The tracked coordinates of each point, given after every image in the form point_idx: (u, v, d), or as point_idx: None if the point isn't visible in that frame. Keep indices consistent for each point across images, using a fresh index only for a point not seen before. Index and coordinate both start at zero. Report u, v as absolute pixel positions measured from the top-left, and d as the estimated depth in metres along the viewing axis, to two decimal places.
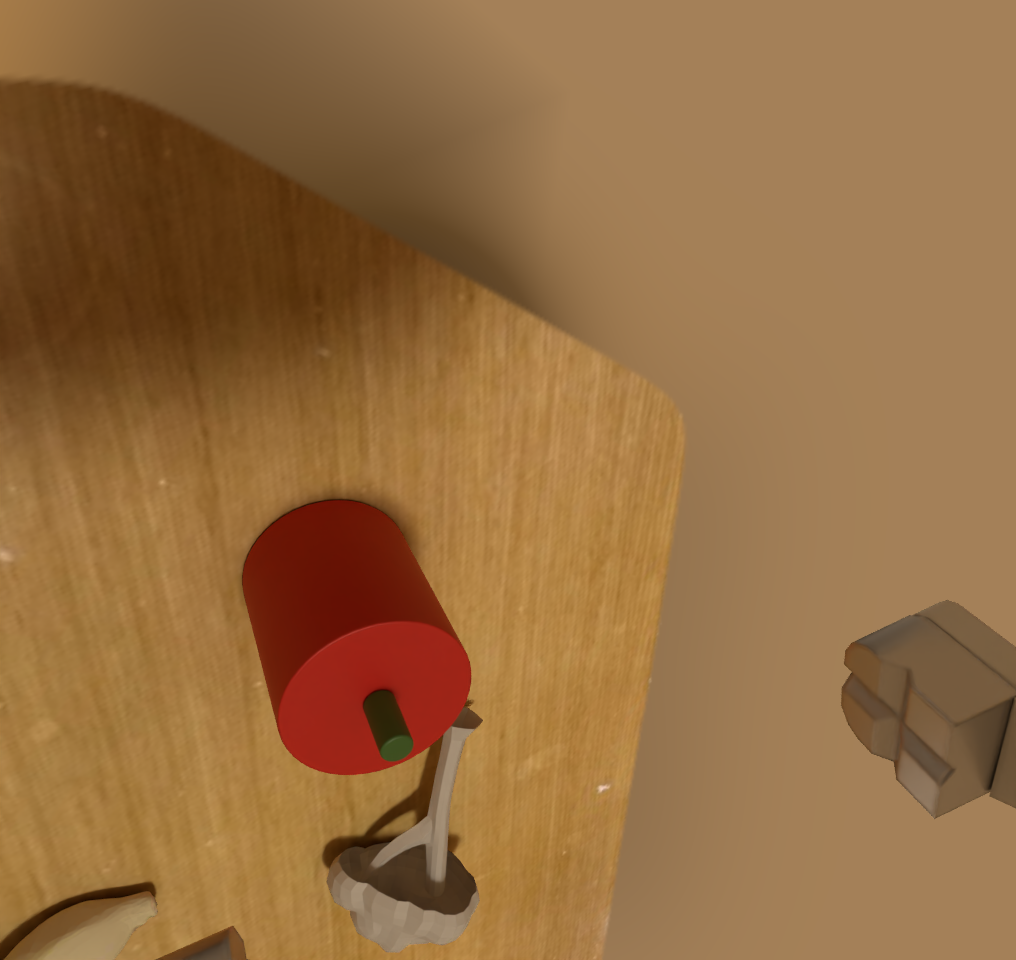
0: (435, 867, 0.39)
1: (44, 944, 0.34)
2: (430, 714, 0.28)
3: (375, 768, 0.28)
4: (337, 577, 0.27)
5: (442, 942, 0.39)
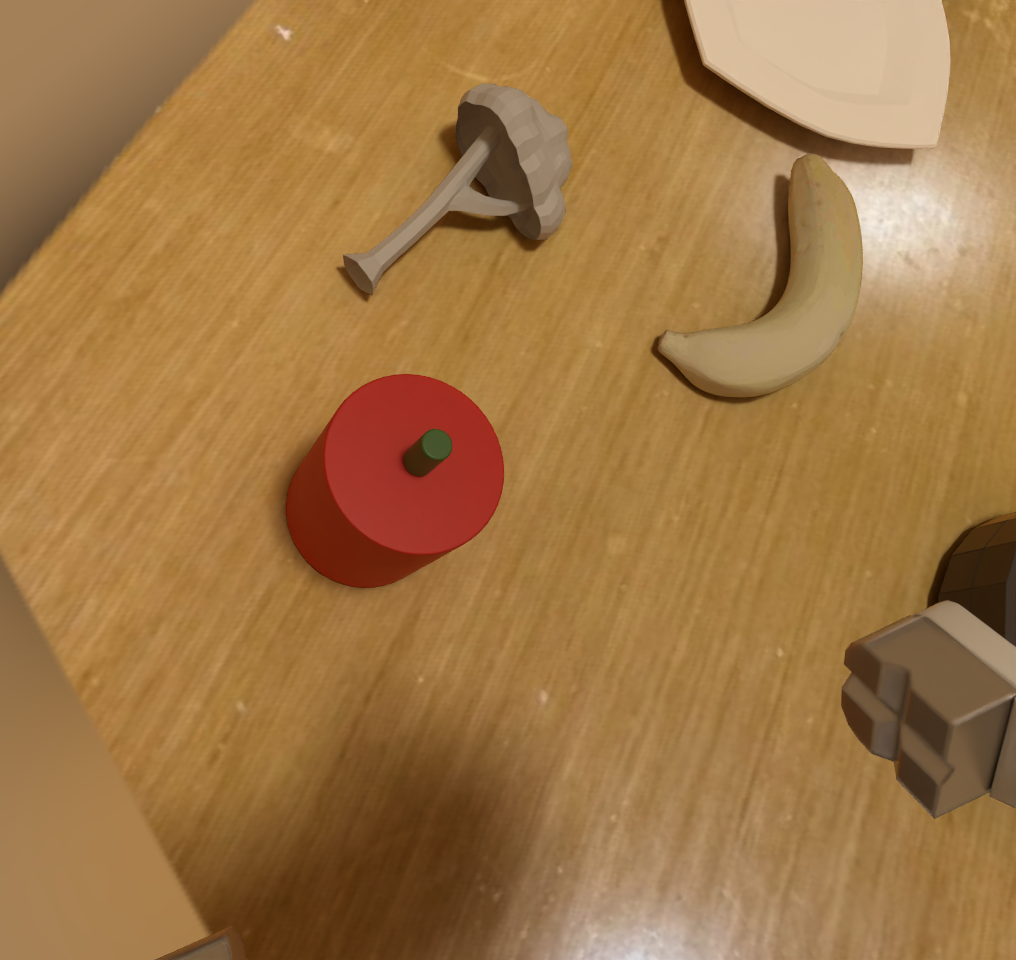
0: (478, 159, 0.38)
1: (733, 389, 0.42)
2: (388, 407, 0.29)
3: (460, 396, 0.30)
4: (368, 562, 0.30)
5: (526, 101, 0.37)
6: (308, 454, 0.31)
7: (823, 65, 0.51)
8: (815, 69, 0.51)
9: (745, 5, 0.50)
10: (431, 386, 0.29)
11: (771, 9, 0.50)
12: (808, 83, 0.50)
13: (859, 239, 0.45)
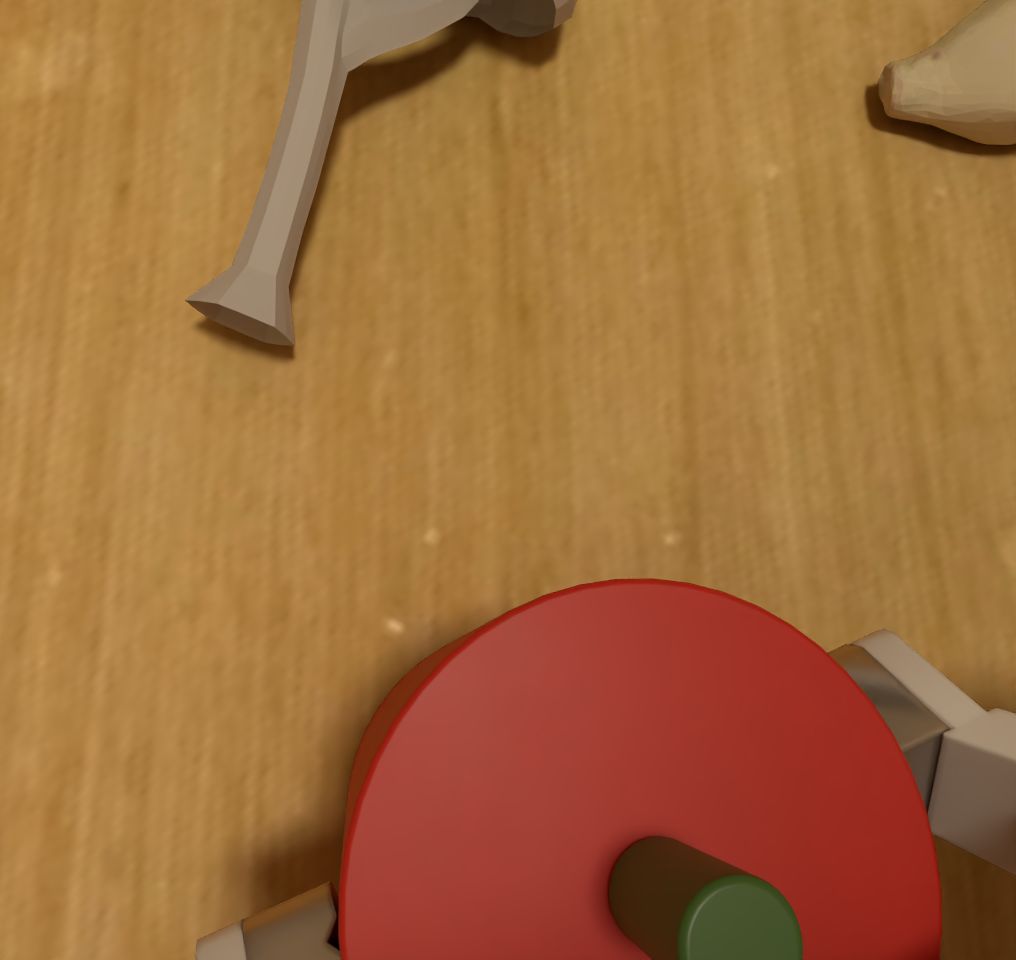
0: None
1: None
2: (484, 778, 0.09)
3: (661, 594, 0.09)
4: None
5: None
6: None
7: None
8: None
9: None
10: (567, 622, 0.09)
11: None
12: None
13: None
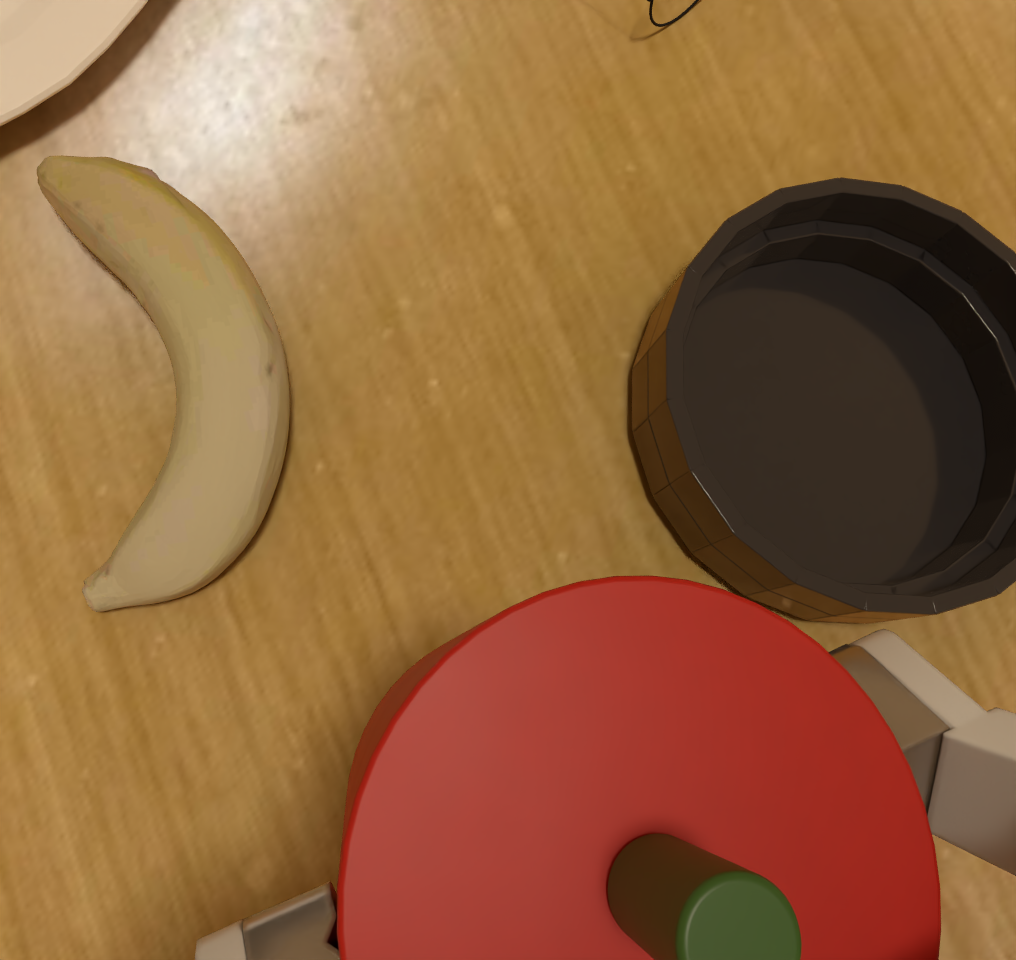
0: None
1: (215, 572, 0.28)
2: (483, 774, 0.09)
3: (660, 591, 0.09)
4: None
5: None
6: None
7: None
8: None
9: None
10: (566, 619, 0.09)
11: None
12: None
13: (186, 221, 0.29)
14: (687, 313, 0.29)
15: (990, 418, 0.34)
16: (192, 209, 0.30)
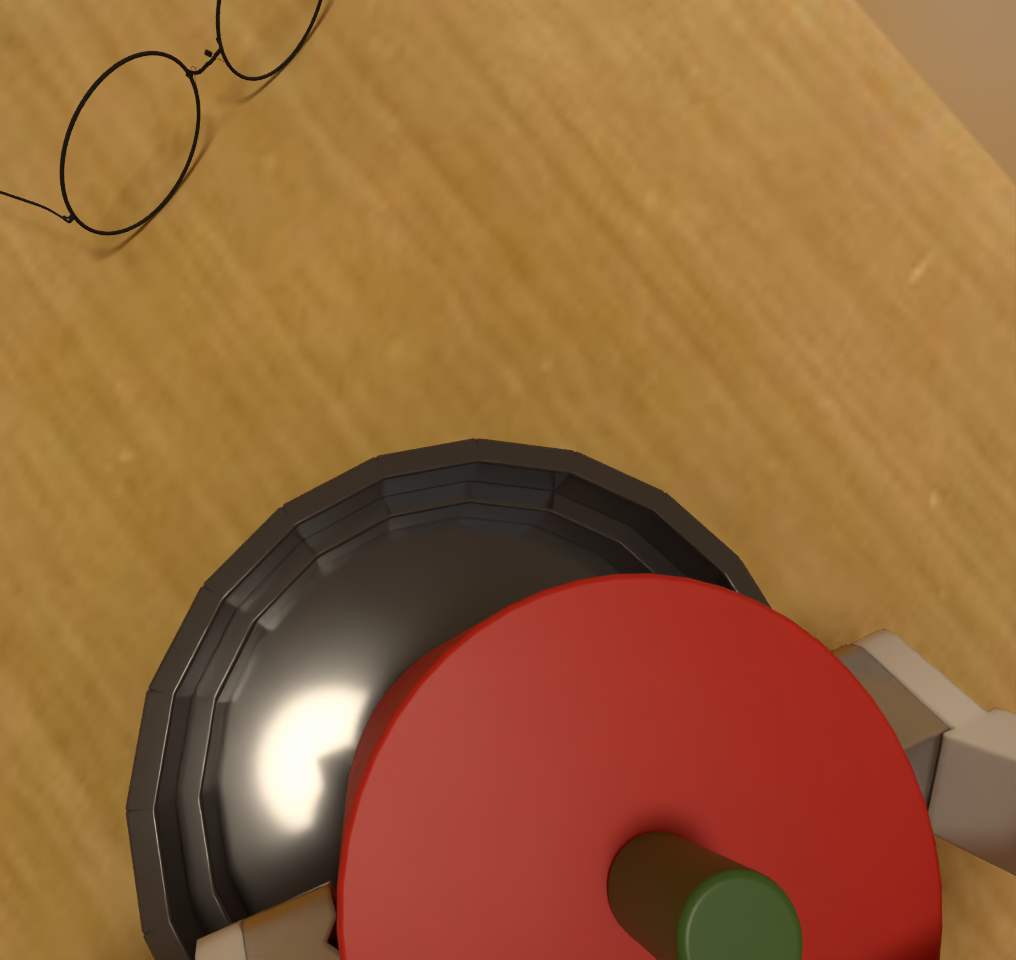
0: None
1: None
2: (483, 772, 0.09)
3: (660, 589, 0.09)
4: None
5: None
6: None
7: None
8: None
9: None
10: (566, 617, 0.09)
11: None
12: None
13: None
14: (158, 770, 0.18)
15: None
16: None
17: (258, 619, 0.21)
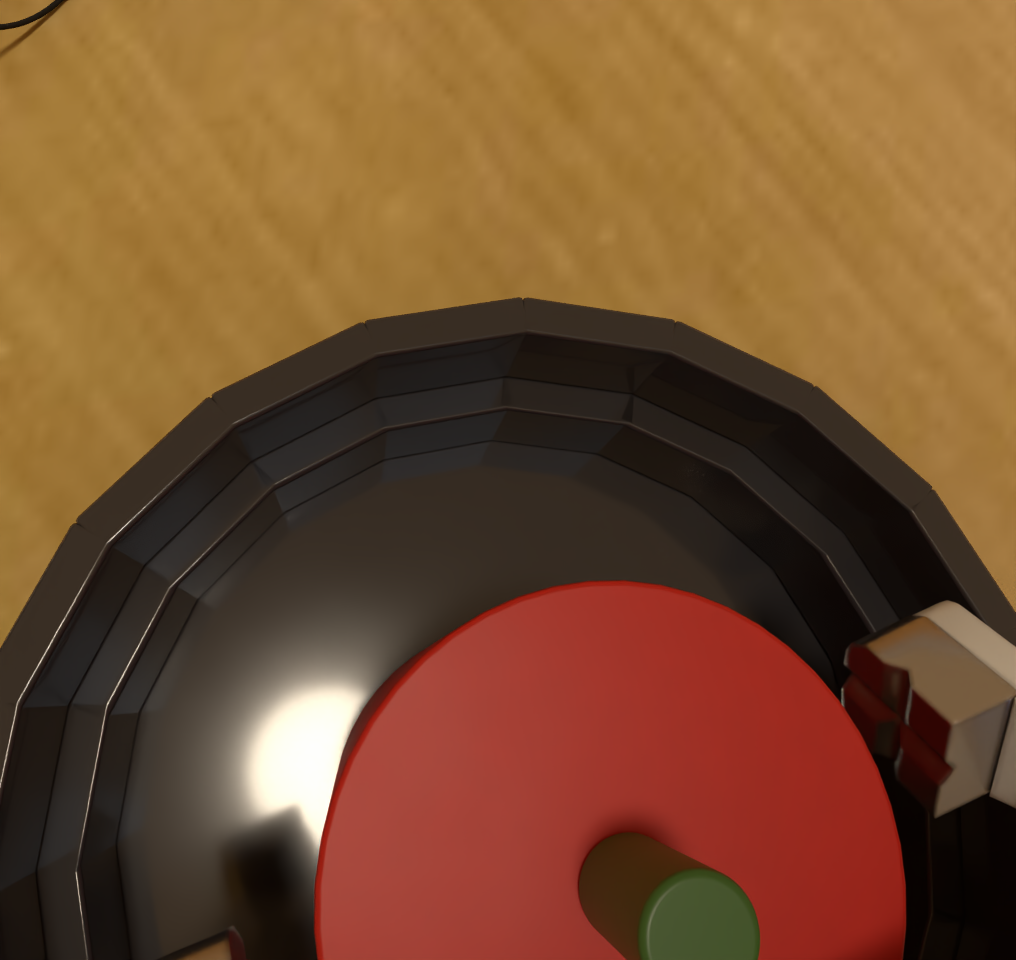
0: None
1: None
2: (457, 776, 0.09)
3: (633, 595, 0.09)
4: None
5: None
6: None
7: None
8: None
9: None
10: (540, 623, 0.09)
11: None
12: None
13: None
14: None
15: None
16: None
17: (180, 583, 0.14)
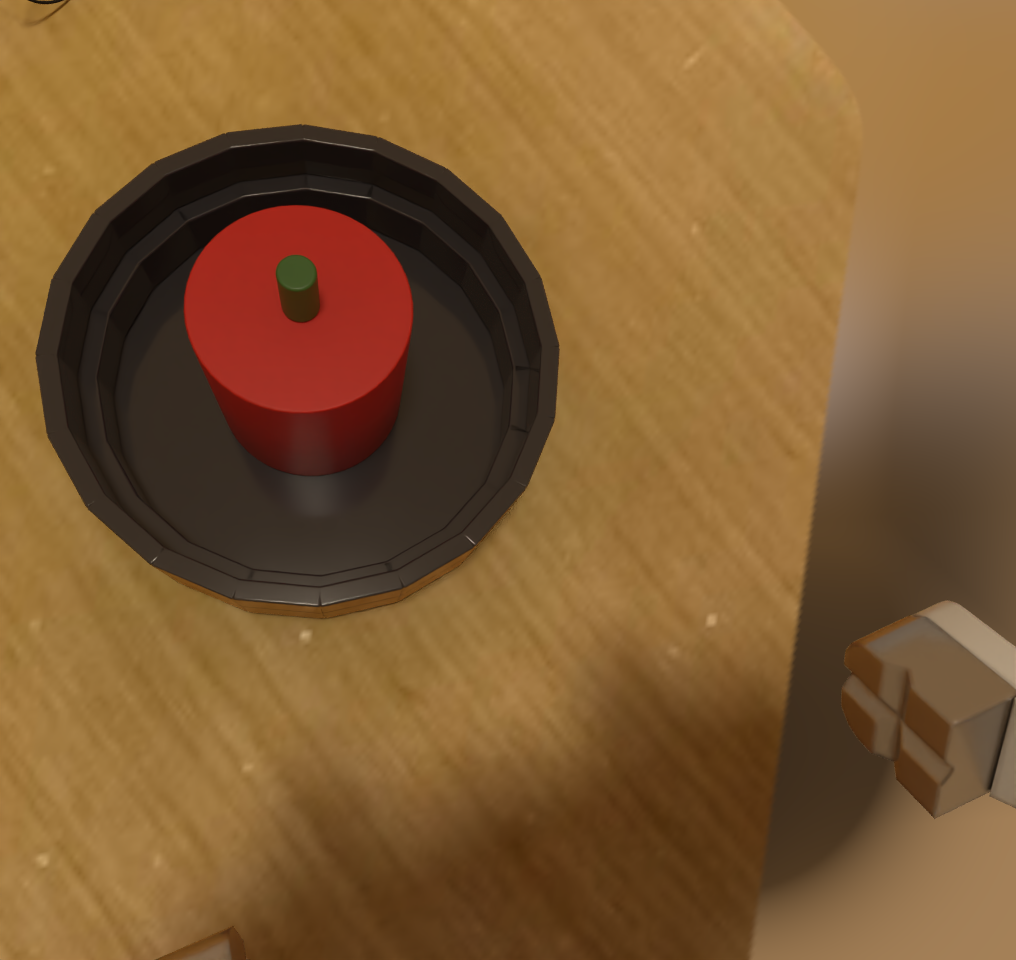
0: None
1: None
2: (238, 265, 0.24)
3: (311, 210, 0.25)
4: (320, 438, 0.26)
5: None
6: None
7: None
8: None
9: None
10: (273, 217, 0.24)
11: None
12: None
13: None
14: (59, 330, 0.26)
15: (496, 346, 0.32)
16: None
17: (142, 262, 0.29)
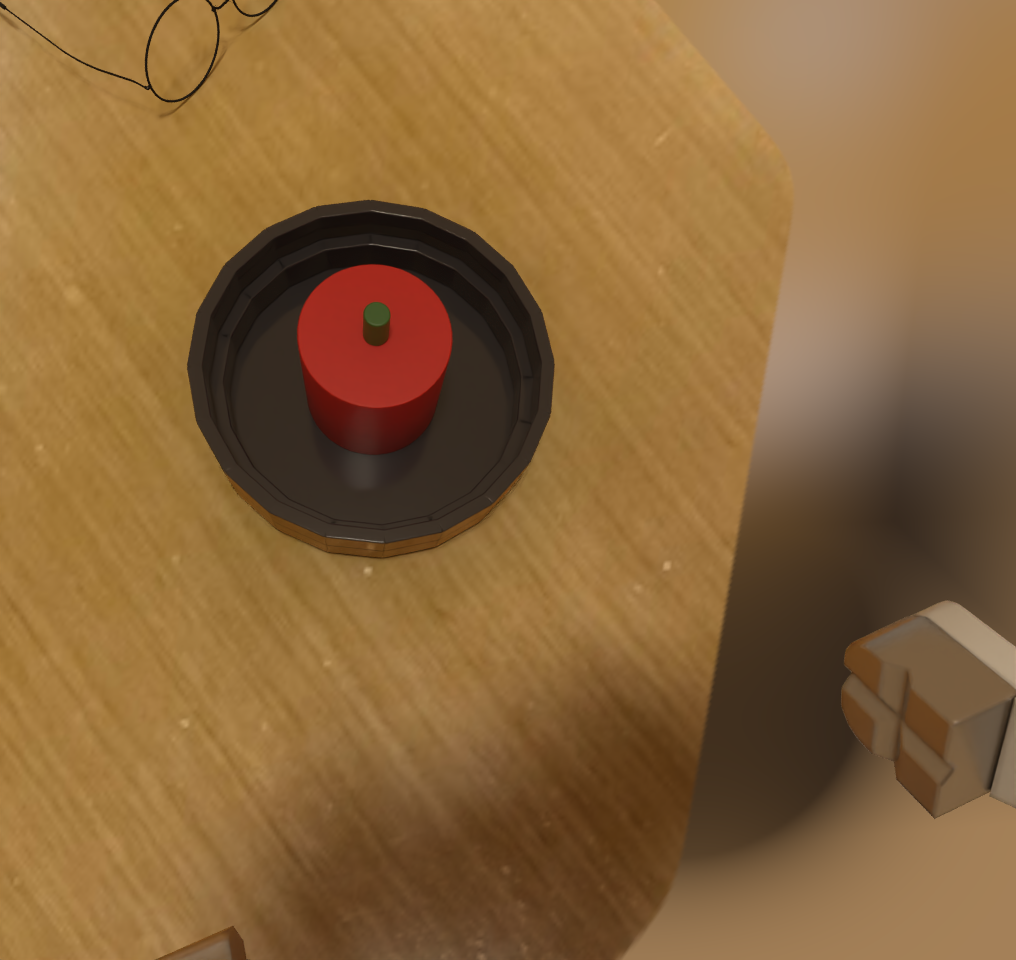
0: None
1: None
2: (333, 306, 0.35)
3: (382, 268, 0.36)
4: (385, 426, 0.37)
5: None
6: None
7: None
8: None
9: None
10: (356, 273, 0.35)
11: None
12: None
13: None
14: (202, 348, 0.37)
15: (508, 360, 0.43)
16: None
17: (253, 298, 0.40)
